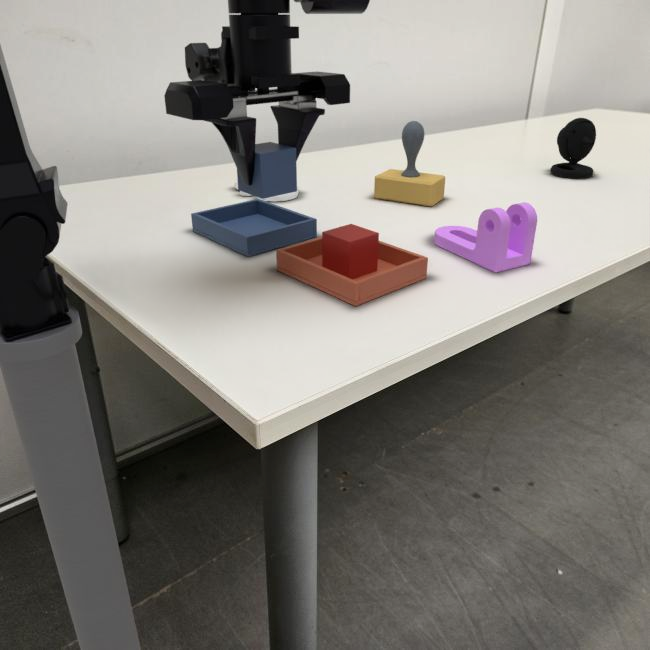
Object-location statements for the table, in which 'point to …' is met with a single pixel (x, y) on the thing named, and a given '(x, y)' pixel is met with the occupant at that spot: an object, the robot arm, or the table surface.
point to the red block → (350, 250)
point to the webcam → (575, 148)
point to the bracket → (494, 238)
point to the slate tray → (254, 226)
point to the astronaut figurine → (274, 198)
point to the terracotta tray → (390, 276)
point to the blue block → (272, 171)
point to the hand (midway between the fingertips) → (267, 181)
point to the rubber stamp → (410, 175)
